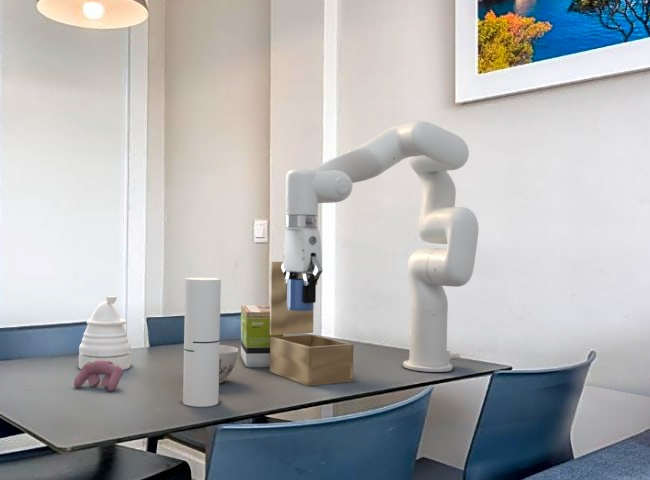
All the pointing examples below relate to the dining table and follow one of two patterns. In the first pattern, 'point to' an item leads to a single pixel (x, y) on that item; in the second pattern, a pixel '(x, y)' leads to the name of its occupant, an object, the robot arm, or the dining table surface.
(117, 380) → the video game controller
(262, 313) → the tea box
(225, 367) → the teacup
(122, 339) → the honey pot
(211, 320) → the cylindrical container
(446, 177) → the robot arm
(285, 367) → the wooden box
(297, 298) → the cup
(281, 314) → the lid
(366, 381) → the dining table surface
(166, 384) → the dining table surface
